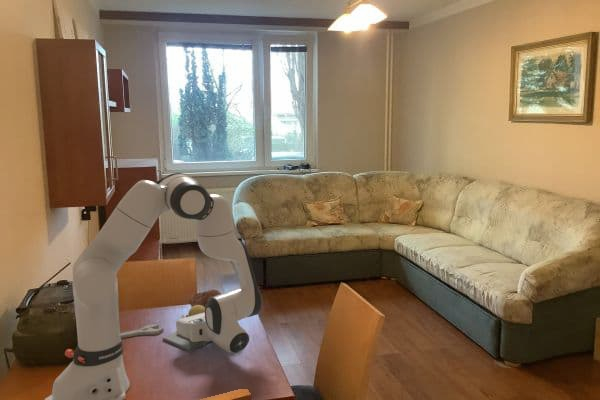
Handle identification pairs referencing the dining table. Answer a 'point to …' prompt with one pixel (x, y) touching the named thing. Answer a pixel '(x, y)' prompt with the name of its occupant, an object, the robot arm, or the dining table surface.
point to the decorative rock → (203, 297)
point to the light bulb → (196, 310)
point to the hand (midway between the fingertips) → (196, 313)
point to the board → (183, 341)
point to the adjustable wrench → (143, 331)
